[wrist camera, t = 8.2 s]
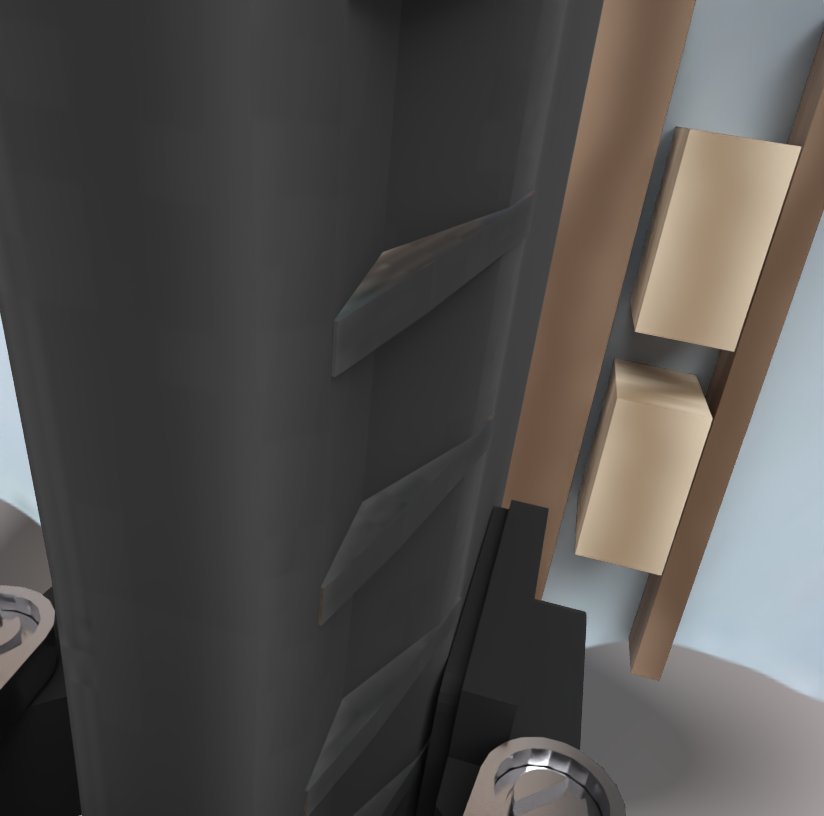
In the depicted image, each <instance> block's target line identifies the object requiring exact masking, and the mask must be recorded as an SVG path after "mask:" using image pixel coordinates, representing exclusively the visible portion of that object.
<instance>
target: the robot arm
mask: <svg viewBox="0 0 824 816" xmlns="http://www.w3.org/2000/svg"><path fill="white" fill-rule="evenodd" d="M548 512H549V508H545V507H541V506H537V505H533V504H528V503H524V502H520V501H516V500H511V503H510V507H509V509H506V508H502V507H498V506H494V509H493V512H492V516H491V519H490V522H489V526H488V529H487V532H486V536H485V539H484V542H483V546H482V549H481V552H480V556H479V559H478V562H477V566H476V569H475V572H474V576H473V579H472V582H471V586H470V589H469V592H468V596H467V599H466V602H465V606H464V609H463V612H462V616H461V619H460V622H459V626H458V629H457V632H456V636H455V639H454V642H453V646H452V649H451V652H450V656H449V659H448V662H447V666H446V669H445V673H444V677H443V681H442V685H441V689H440V693H439V698H438V702H437V707H436V712H435V717H434V722H433V728H432V733H431V738H430V743H429V749H428V754H427V759H426V764H425V770H424V775H423V780H422V785H421V791H420V796H419V801H418V806H417V812H416V816H626V812H625V804H624V802H623V799H622V797H621V794H620V792H619V790H618V787H617V785H616V784H615V783H614V781H613V780H612V779H611V777H610V776H609V775H608V774H607V772H606V771H605V770H604V768H603V767H601V766H600V765H599V764H598V763H596V762H595V761H594V760H593V759H592V758H590V757H589V756H588V755H587V754H585V753H584V752H582V751H580V738H581V717H582V698H583V697H582V696H583V679H584V658H585V640H586V612H584V611H580V610H576V609H572V608H568V607H564V606H561V605H557V604H553V603H549V602H545V601H541V600H537V599H535V593H536V586H537V580H538V574H539V568H540V562H541V555H542V549H543V543H544V537H545V530H546V524H547V518H548ZM79 815H82V812H81V804H80V795H79V787H78V779H77V771H76V763H75V756H74V748H73V740H72V733H71V725H70V717H69V709H68V702H67V694H66V686H65V679H64V671H63V663H62V655H61V648H60V640H59V632H58V625H57V617H56V609H55V601H54V594H53V586H52V587H51V588H50V589H49V590H47V591H46V592H45V593H44V594H43V595H41V594H40V593H38V592H36V591H33V590H30V589H27V588H24V587H16V586H4V585H1V586H0V816H79Z"/></svg>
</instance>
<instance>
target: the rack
mask: <svg viewBox="0 0 824 816" xmlns="http://www.w3.org/2000/svg"><path fill="white" fill-rule="evenodd" d="M695 2H696V0H604V3H603V8H602V13H601V18H600V23H599V28H598V33H597V38H596V43H595V48H594V53H593V58H592V63H591V68H590V73H589V78H588V83H587V88H586V93H585V98H584V103H583V108H582V113H581V118H580V123H579V128H578V133H577V138H576V143H575V148H574V153H573V158H572V163H571V168H570V173H569V178H568V183H567V188H566V193H565V198H564V203H563V208H562V213H561V218H560V223H559V228H558V233H557V237H556V242H555V247H554V252H553V257H552V262H551V267H550V272H549V277H548V282H547V287H546V292H545V297H544V302H543V307H542V311H541V316H540V321H539V326H538V331H537V336H536V341H535V346H534V351H533V356H532V361H531V366H530V371H529V375H528V380H527V385H526V390H525V395H524V400H523V405H522V410H521V415H520V419H519V424H518V429H517V434H516V439H515V444H514V449H513V454H512V459H511V464H510V468H509V473H508V478H507V483H506V488H505V493H504V497H503V502H502V508H506V509H509V507H510V503H511V500H516V501H520V502H524V503H528V504H533V505H537V506H541V507H545V508H549V512H548V518H547V524H546V530H545V537H544V543H543V549H542V555H541V562H540V568H539V574H538V580H537V586H536V593H535V599H537V600H541V599H542V595H543V592H544V588H545V584H546V580H547V576H548V572H549V568H550V564H551V561H552V557H553V553H554V549H555V545H556V541H557V537H558V533H559V530H560V526H561V522H562V518H563V514H564V510H565V506H566V502H567V499H568V495H569V491H570V487H571V483H572V479H573V475H574V471H575V467H576V464H577V460H578V456H579V452H580V448H581V444H582V440H583V436H584V433H585V429H586V425H587V421H588V417H589V413H590V409H591V405H592V402H593V398H594V394H595V390H596V386H597V382H598V378H599V374H600V371H601V367H602V363H603V359H604V355H605V351H606V347H607V343H608V340H609V336H610V332H611V328H612V324H613V320H614V316H615V312H616V309H617V305H618V301H619V297H620V293H621V289H622V285H623V281H624V278H625V274H626V270H627V266H628V262H629V258H630V254H631V250H632V247H633V243H634V239H635V235H636V231H637V227H638V223H639V219H640V216H641V212H642V208H643V204H644V200H645V196H646V192H647V188H648V185H649V181H650V177H651V173H652V169H653V165H654V161H655V157H656V154H657V150H658V146H659V142H660V138H661V134H662V130H663V126H664V122H665V119H666V115H667V111H668V107H669V103H670V99H671V95H672V91H673V88H674V84H675V80H676V76H677V72H678V68H679V64H680V60H681V57H682V53H683V49H684V45H685V41H686V37H687V33H688V29H689V26H690V22H691V18H692V14H693V10H694V6H695ZM787 144H788V145H794V146H800V147H801V150H800V153H799V156H798V159H797V162H796V165H795V168H794V171H793V174H792V177H791V180H790V183H789V187H788V190H787V193H786V196H785V199H784V202H783V205H782V208H781V211H780V214H779V217H778V220H777V223H776V226H775V229H774V232H773V235H772V238H771V241H770V244H769V247H768V250H767V253H766V256H765V260H764V263H763V266H762V269H761V272H760V275H759V278H758V281H757V284H756V287H755V290H754V293H753V296H752V299H751V302H750V305H749V308H748V311H747V314H746V317H745V320H744V323H743V326H742V329H741V332H740V336H739V339H738V342H737V345H736V348H735V351H734V352H733V351H728V350H723V349H721V352H720V355H719V358H718V361H717V364H716V367H715V370H714V374H713V377H712V380H711V383H710V386H709V389H708V392H707V396H706V399H705V400H706V403H707V405H708V408H709V410H710V413H711V416H712V418H713V419H712V422H711V425H710V428H709V431H708V435H707V438H706V441H705V444H704V447H703V450H702V453H701V456H700V459H699V462H698V465H697V468H696V471H695V474H694V477H693V480H692V483H691V486H690V490H689V493H688V496H687V499H686V502H685V505H684V508H683V511H682V514H681V517H680V520H679V523H678V526H677V529H676V532H675V535H674V538H673V541H672V545H671V548H670V551H669V554H668V557H667V560H666V563H665V566H664V569H663V572H662V575H657V574H652V573H650V574H649V577H648V580H647V583H646V586H645V590H644V593H643V596H642V599H641V602H640V605H639V608H638V611H637V615H636V618H635V621H634V624H633V627H632V630H631V633H630V636H629V649H630V665H631V674H635V675H639V676H643V677H646V678H650V679H654V680H658V681H659V680H660V678H661V675H662V672H663V669H664V666H665V663H666V660H667V658H668V655H669V652H670V649H671V646H672V643H673V640H674V638H675V635H676V632H677V629H678V626H679V623H680V620H681V617H682V615H683V612H684V609H685V606H686V603H687V600H688V597H689V594H690V592H691V589H692V586H693V583H694V580H695V577H696V574H697V571H698V569H699V566H700V563H701V560H702V557H703V554H704V551H705V549H706V546H707V543H708V540H709V537H710V534H711V531H712V528H713V526H714V523H715V520H716V517H717V514H718V511H719V508H720V505H721V503H722V500H723V497H724V494H725V491H726V488H727V485H728V482H729V480H730V477H731V474H732V471H733V468H734V465H735V462H736V460H737V457H738V454H739V451H740V448H741V445H742V442H743V439H744V437H745V434H746V431H747V428H748V425H749V422H750V419H751V416H752V414H753V411H754V408H755V405H756V402H757V399H758V396H759V393H760V391H761V388H762V385H763V382H764V379H765V376H766V373H767V370H768V368H769V365H770V362H771V359H772V356H773V353H774V350H775V348H776V345H777V342H778V339H779V336H780V333H781V330H782V327H783V325H784V322H785V319H786V316H787V313H788V310H789V307H790V304H791V302H792V299H793V296H794V293H795V290H796V287H797V284H798V281H799V279H800V276H801V273H802V270H803V267H804V264H805V261H806V258H807V256H808V253H809V250H810V247H811V244H812V241H813V238H814V236H815V233H816V230H817V227H818V224H819V221H820V218H821V215H822V213H823V210H824V29H823V33H822V36H821V39H820V42H819V45H818V48H817V51H816V54H815V58H814V61H813V64H812V67H811V70H810V73H809V76H808V79H807V83H806V86H805V89H804V92H803V95H802V98H801V101H800V105H799V108H798V111H797V114H796V117H795V120H794V123H793V126H792V130H791V133H790V136H789V139H788V142H787Z"/></svg>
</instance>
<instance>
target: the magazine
mask: <svg viewBox="0 0 824 816" xmlns="http://www.w3.org/2000/svg"><path fill="white" fill-rule="evenodd" d="M603 3H604V0H0V314H1V319H2V324H3V329H4V334H5V339H6V344H7V350H8V355H9V360H10V365H11V371H12V376H13V381H14V386H15V391H16V397H17V402H18V407H19V412H20V417H21V423H22V428H23V433H24V438H25V443H26V449H27V454H28V459H29V464H30V470H31V475H32V480H33V485H34V490H35V496H36V501H37V506H38V511H39V516H40V522H41V527H42V532H43V537H44V542H45V548H46V553H47V558H48V563H49V568H50V574H51V578H52V586H53V594H54V601H55V609H56V617H57V625H58V632H59V640H60V648H61V655H62V663H63V671H64V679H65V686H66V694H67V702H68V709H69V717H70V725H71V733H72V740H73V748H74V756H75V763H76V771H77V779H78V787H79V795H80V804H81V812H82V816H416V812H417V806H418V801H419V796H420V791H421V785H422V780H423V775H424V770H425V764H426V759H427V754H428V749H429V743H430V738H431V733H432V728H433V722H434V717H435V712H436V707H437V702H438V698H439V693H440V689H441V685H442V681H443V677H444V673H445V669H446V666H447V662H448V659H449V656H450V652H451V649H452V646H453V642H454V639H455V636H456V632H457V629H458V626H459V622H460V619H461V616H462V612H463V609H464V606H465V602H466V599H467V596H468V592H469V589H470V586H471V582H472V579H473V576H474V572H475V569H476V566H477V562H478V559H479V556H480V552H481V549H482V546H483V542H484V539H485V536H486V532H487V529H488V526H489V522H490V519H491V516H492V512H493V509H494V506H498V507H502V502H503V497H504V493H505V488H506V483H507V478H508V473H509V468H510V464H511V459H512V454H513V449H514V444H515V439H516V434H517V429H518V424H519V419H520V415H521V410H522V405H523V400H524V395H525V390H526V385H527V380H528V375H529V371H530V366H531V361H532V356H533V351H534V346H535V341H536V336H537V331H538V326H539V321H540V316H541V311H542V307H543V302H544V297H545V292H546V287H547V282H548V277H549V272H550V267H551V262H552V257H553V252H554V247H555V242H556V237H557V233H558V228H559V223H560V218H561V213H562V208H563V203H564V198H565V193H566V188H567V183H568V178H569V173H570V168H571V163H572V158H573V153H574V148H575V143H576V138H577V133H578V128H579V123H580V118H581V113H582V108H583V103H584V98H585V93H586V88H587V83H588V78H589V73H590V68H591V63H592V58H593V53H594V48H595V43H596V38H597V33H598V28H599V23H600V18H601V13H602V8H603Z"/></svg>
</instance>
